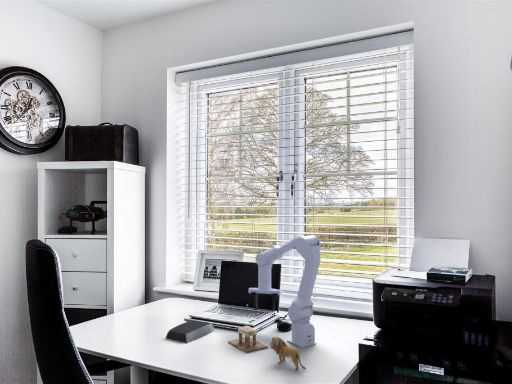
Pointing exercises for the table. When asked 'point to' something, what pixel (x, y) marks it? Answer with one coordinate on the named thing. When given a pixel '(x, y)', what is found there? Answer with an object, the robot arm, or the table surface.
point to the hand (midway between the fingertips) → (264, 310)
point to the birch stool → (247, 334)
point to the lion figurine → (285, 351)
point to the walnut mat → (247, 349)
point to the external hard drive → (189, 331)
